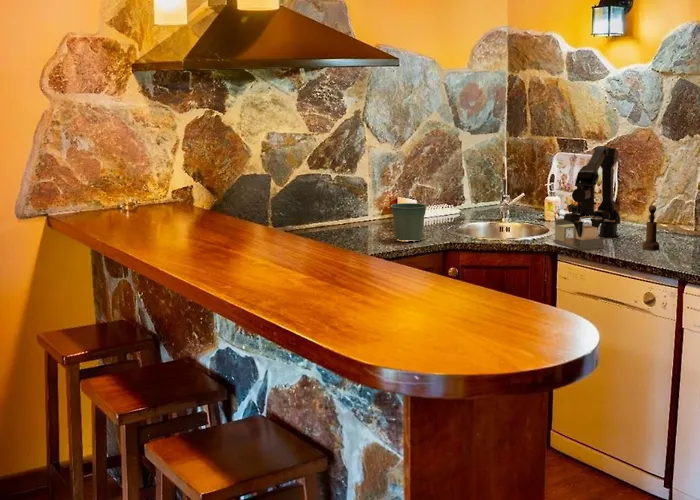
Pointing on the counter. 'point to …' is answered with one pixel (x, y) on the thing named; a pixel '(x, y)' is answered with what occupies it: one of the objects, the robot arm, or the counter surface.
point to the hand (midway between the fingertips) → (586, 236)
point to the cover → (563, 229)
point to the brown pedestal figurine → (651, 231)
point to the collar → (588, 233)
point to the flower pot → (408, 220)
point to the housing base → (582, 243)
